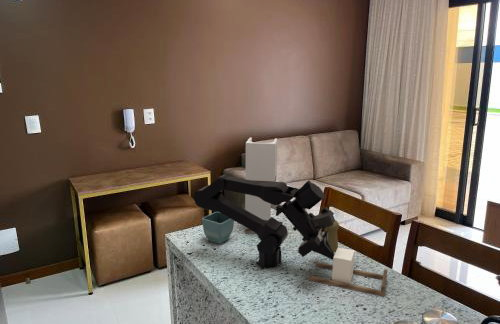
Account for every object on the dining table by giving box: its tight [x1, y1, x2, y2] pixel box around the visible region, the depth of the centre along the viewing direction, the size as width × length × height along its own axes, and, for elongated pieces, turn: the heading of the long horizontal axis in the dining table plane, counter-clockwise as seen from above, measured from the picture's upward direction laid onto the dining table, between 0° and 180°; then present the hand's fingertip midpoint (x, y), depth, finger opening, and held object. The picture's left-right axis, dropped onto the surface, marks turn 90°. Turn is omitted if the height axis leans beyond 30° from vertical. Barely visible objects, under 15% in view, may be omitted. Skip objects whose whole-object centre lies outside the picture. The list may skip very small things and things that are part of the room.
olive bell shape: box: [323, 219, 340, 253], centre depth 134 cm, size 6×6×11 cm
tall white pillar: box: [244, 137, 278, 235], centre depth 149 cm, size 11×11×35 cm
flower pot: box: [201, 211, 235, 245], centre depth 142 cm, size 9×9×9 cm
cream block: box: [331, 247, 356, 284], centre depth 115 cm, size 5×7×8 cm
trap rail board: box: [308, 261, 388, 297], centre depth 115 cm, size 21×16×4 cm
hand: (334, 258), depth 116 cm, fingers closed, pressing on cream block
